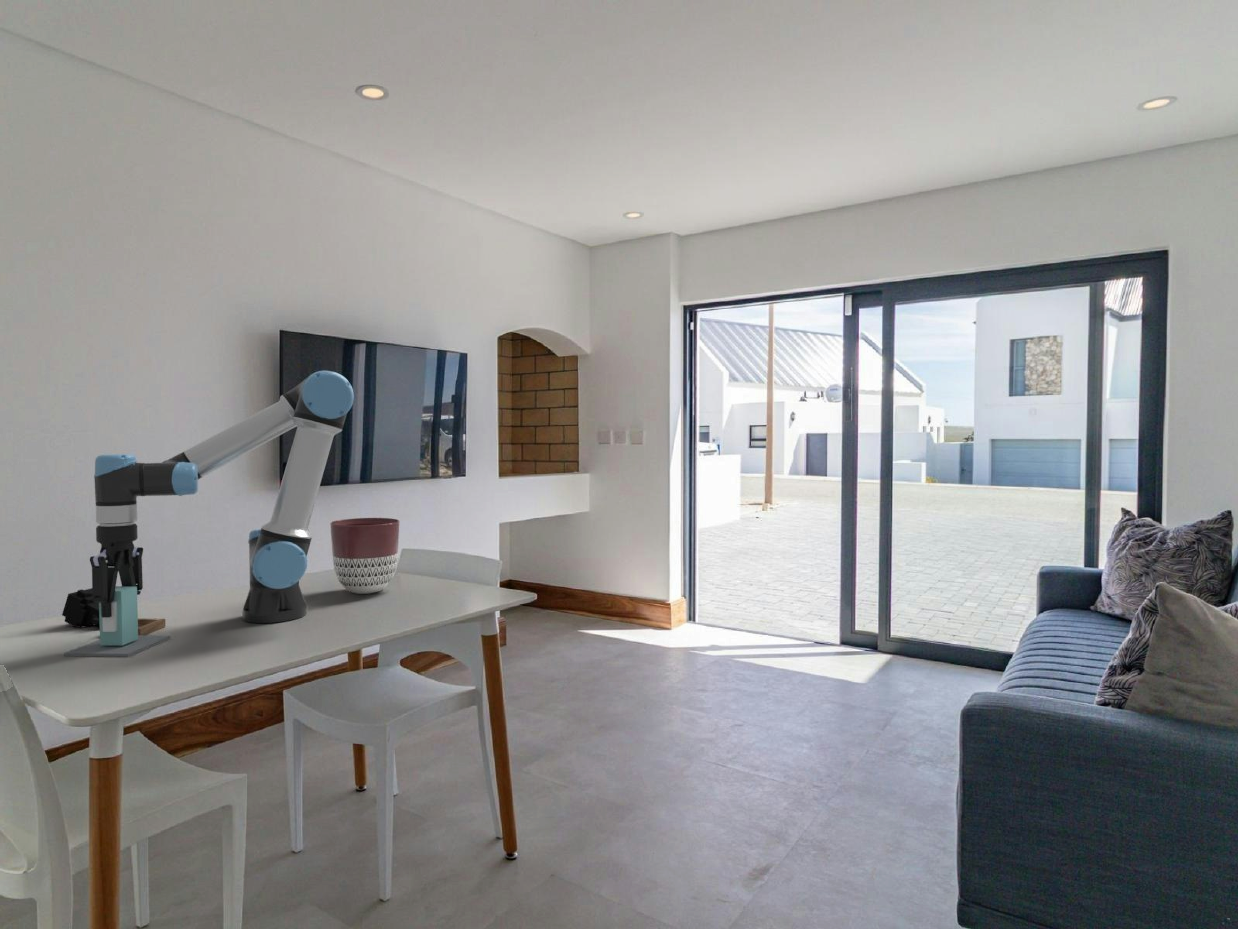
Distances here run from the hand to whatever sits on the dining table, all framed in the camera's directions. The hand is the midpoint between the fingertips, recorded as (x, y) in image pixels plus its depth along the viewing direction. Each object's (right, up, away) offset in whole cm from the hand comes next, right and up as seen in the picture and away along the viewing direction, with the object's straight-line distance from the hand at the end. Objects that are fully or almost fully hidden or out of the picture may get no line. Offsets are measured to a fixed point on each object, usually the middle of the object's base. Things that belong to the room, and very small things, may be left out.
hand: (119, 627), depth 161 cm
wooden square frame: (-5, -4, +12) cm, 14 cm away
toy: (-17, -4, +18) cm, 25 cm away
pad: (0, -4, 0) cm, 4 cm away
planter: (+35, -2, +56) cm, 66 cm away
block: (0, -3, 0) cm, 3 cm away
